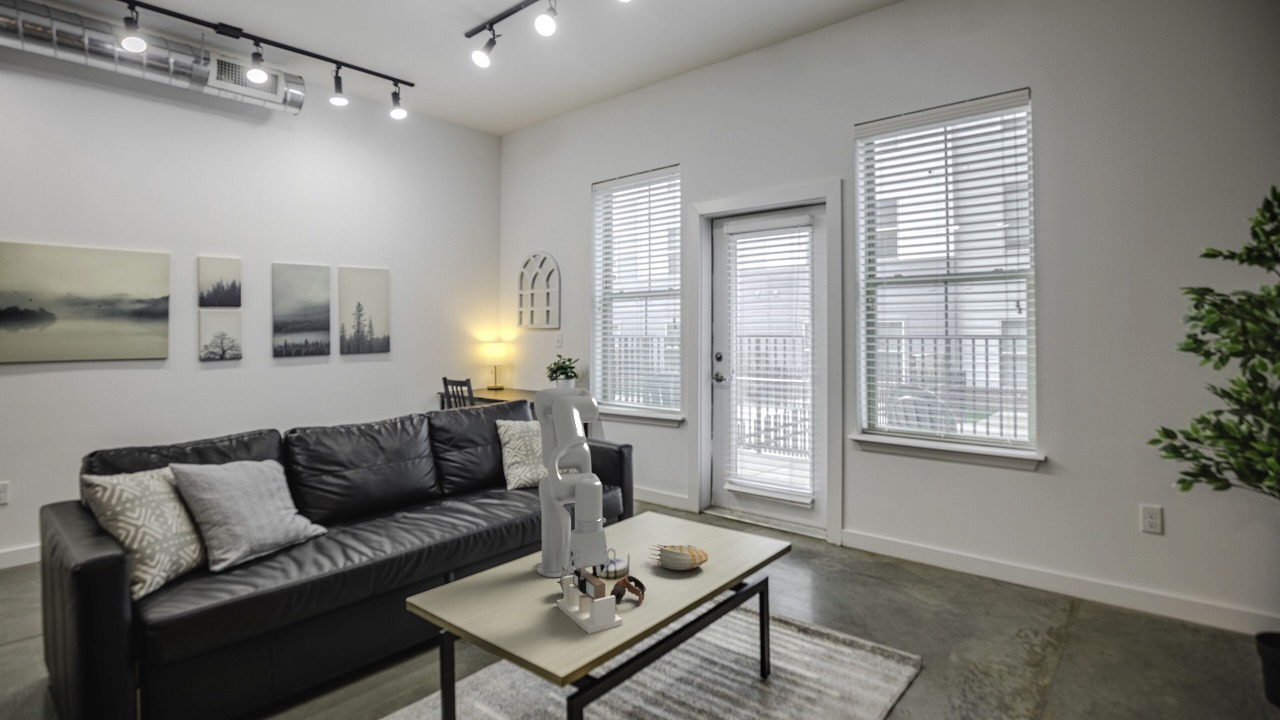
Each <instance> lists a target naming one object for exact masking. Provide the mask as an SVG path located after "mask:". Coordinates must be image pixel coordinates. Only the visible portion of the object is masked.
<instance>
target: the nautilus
mask: <svg viewBox="0 0 1280 720" xmlns="http://www.w3.org/2000/svg"><path fill="white" fill-rule="evenodd" d="M651 546H653V547H656V548H657V549H654V548H652V550H653V551H656V552H660V553H658V554H656V553H651V555H652V556H655V557H656V556H657V557H659V558H656V560H655V558H651V557H648V559H651V562H653V563H654V562H656V563H658V565H660V566H661V567H663V568H666V569H670V570H674V571H688V570H689V571H690V570H692V569H695V568H698V567H700V566H701V565H703V564H705V563H707V562H708V560H709V555H708V552H707V551H705V550H704V549H701V548H699V547H696V546H692V545H690V544H689V545H675V544H672V545H671V544H670V545H661V544H658V545H653V544H652V545H651ZM648 550H651V548H648Z"/></svg>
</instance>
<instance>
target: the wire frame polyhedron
mask: <svg viewBox="0 0 1280 720" xmlns="http://www.w3.org/2000/svg"><path fill="white" fill-rule="evenodd" d="M562 569H563V573H562V576H561V577H560V578H559V581H557V582H556V583H557V584H559V585H560V587H561V590H562V592H563V595H562V597H563V598H564V577H566V576H570V575H573V574H572V573H570V572H568V571H567V570H566V569H564V567H562Z"/></svg>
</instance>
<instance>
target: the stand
mask: <svg viewBox="0 0 1280 720" xmlns="http://www.w3.org/2000/svg"><path fill="white" fill-rule="evenodd" d="M563 595H564V597H563V598H561V599H557V600H556V606H557V607H558V608H559V609H560V610H561V611H562V612H563V613H564V614H566V615H567V616H568V617H569V618H571V620H572V621H574V622H575V623H576V624H577V625H578V626H579V627H580V628H581V629H582V630H584V631H585V632H586V633H587V634H588V635H589V634H594V633H598V632H601V631H605V630H608V629H612V628H616V627H619V626H623V618H622V617H620V616H619V615H617V614H616V604H615V596H614V595H612V596H610V595H608V596H605V597H604V598H600V599H595V600H592V599H591V598H590V597H588V596H587V595H586V594H583V593H582V592H580V591H579V589H578V588H577V587H575V586H574V585H573V575H570V576H566V577H564V593H563Z"/></svg>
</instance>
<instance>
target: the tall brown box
mask: <svg viewBox="0 0 1280 720" xmlns="http://www.w3.org/2000/svg"><path fill="white" fill-rule="evenodd" d="M576 570H577V569H576ZM584 578H585V579H586V595H587V596H588V597H590V598H591V599H592V600H595V599H600V598H604V597H606V583H605V582H604V581H602V580H601V579H600V578H599V579H598V578H597V577H595V576H594V575H592V574H591V572H590V571H588V570H586V569H585V576H584ZM573 585H574V586H575V587H577V588H578V577H577V576H576V575H575V574H573Z"/></svg>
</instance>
